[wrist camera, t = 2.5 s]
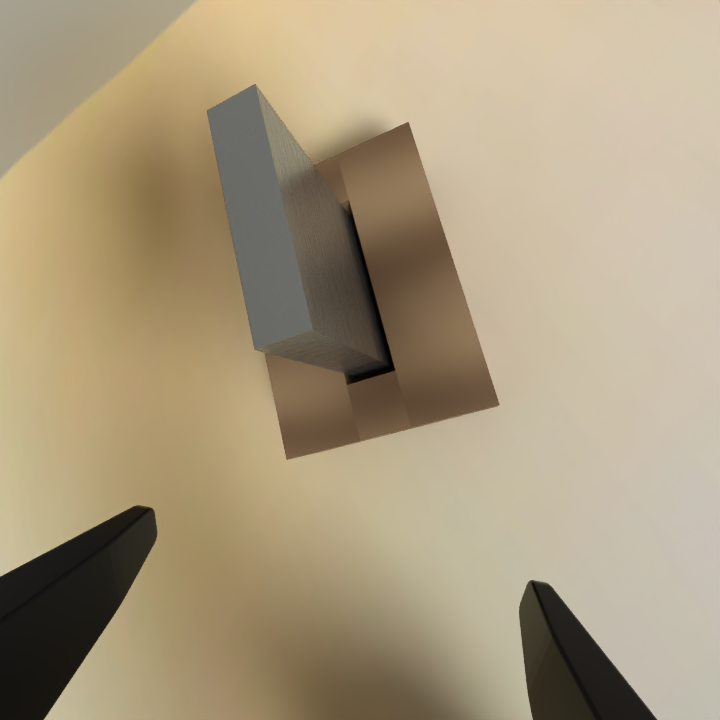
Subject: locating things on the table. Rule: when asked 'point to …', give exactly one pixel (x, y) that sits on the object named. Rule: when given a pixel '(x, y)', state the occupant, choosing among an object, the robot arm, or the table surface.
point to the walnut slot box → (390, 313)
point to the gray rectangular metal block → (294, 246)
